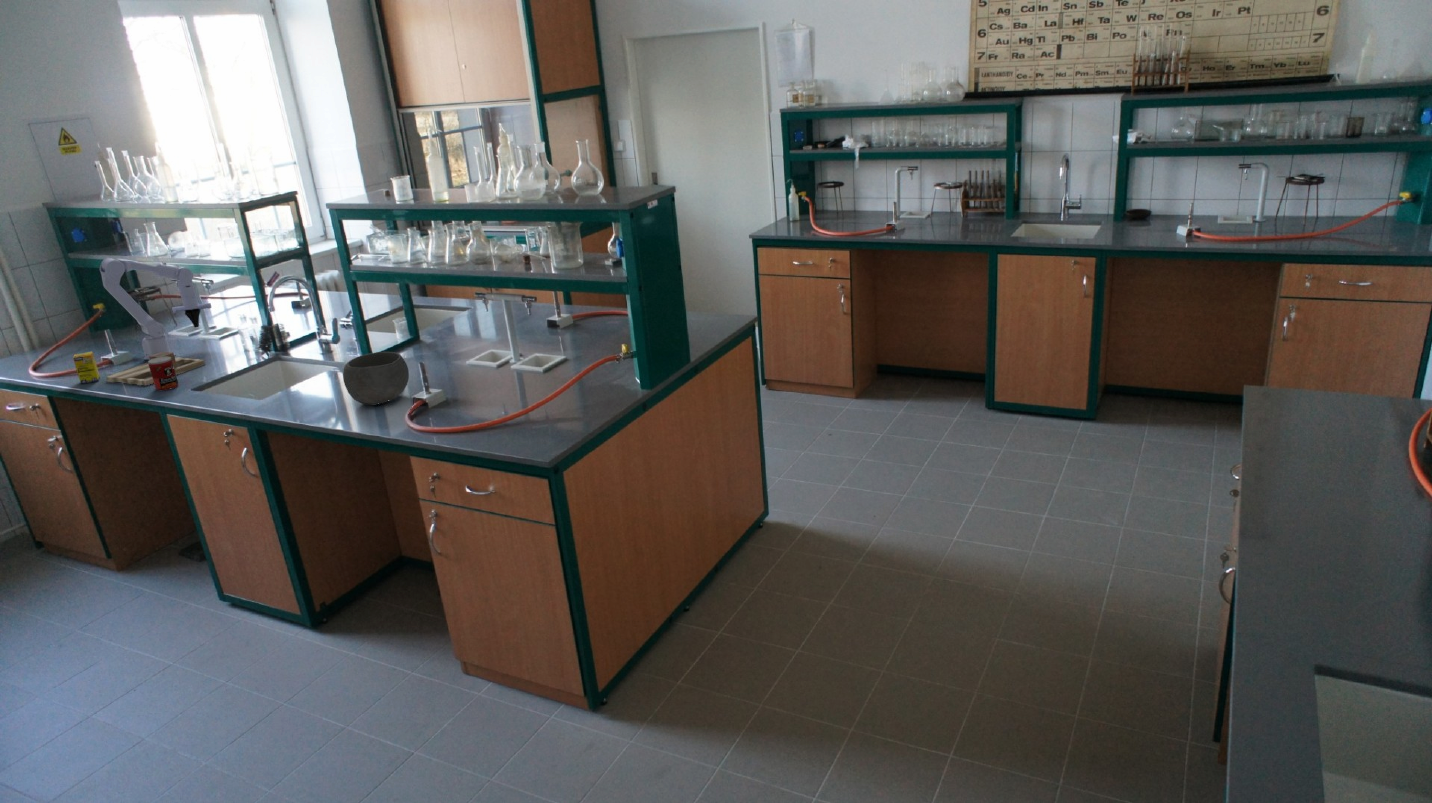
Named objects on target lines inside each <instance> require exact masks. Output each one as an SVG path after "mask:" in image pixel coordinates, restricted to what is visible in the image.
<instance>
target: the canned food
mask: <svg viewBox="0 0 1432 803" xmlns="http://www.w3.org/2000/svg"><path fill="white" fill-rule="evenodd" d="M147 363H148V364H149V368H150V371H151V375H152V378H153V381H154V384H153V385H154V388H155V389H156V390H157V391H160V390H162V391H166V390H165V389H169V390H171V389H170V388H173V389H176V388H177V387H178V386H179V381H178V379H177V375H176V373H175V369H174V366H173V362H172V359H171V357H168V356H164V357H157V358H154V359H151V360H148V361H147Z"/></svg>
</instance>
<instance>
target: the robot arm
mask: <svg viewBox="0 0 1432 803" xmlns="http://www.w3.org/2000/svg"><path fill="white" fill-rule="evenodd" d="M133 270H135V271H141V272H147V273H154V275H155V277H157V278H164V279H168V280H169V279H170V280H176V283H177V288H178V291H179V295H180V297H181V302H182V305H180V306H179V305H178V306H174V307H173V306H172V308H171V310H172V314H174V313H179V312H184V315H185V316H186V317H187V318H188V319H189V320H190V322H191V323H192V325H193V327H194V328H199V326H200V323H199V321H200V314H201V310H204V309H209V310H210V309H211V308H212V304H211V302H206V303H205V302H204V303H199V301H198V296H197V293H196V288H195V285H194V283H193V278H194V273H192V270H190V269H189V268H188V267H183V266H181V265H178V264H175V265H172V264H168V263H167V262H165V261H162V262H158V263H156V264H151V263H145V262H141V261H135V260H133V259H125V258H116V259H115V258H114V257H113V258H112V257H105V258H104V259H103V260H102V261H101V263H100V266H99V272H100V275H101V281H102V286H103V288H104V289H105V290H106V291H107V292H108V293H109V294H110V295H111V296H112V297H113V299H115V300H116V301H117V302H118V303H119V304H120V305H121V306H122V308H124V309H125V310H126V312H128V313H129V315H131V316H132V317H133V318H134V319H135V320H136V322H137V323H138V324H139V325H140V328H141V331H142V332H143V333H144V334H145V336H144V338H143V339H142V341H141V346H142V349H143V353H144V356H145V357H143V360H148V361H149V360H150V358H149V356H152V355H155V354H158V353H161V352H171V350H170V347H169V343H168V340H167V336H166V334H165V332H166V328H165V326H164V325H163V324H162V323H161V322H157V321H156V320H155V319H154V318H153V317H151V315H149V314H148V313H147V311H145V310H144V309H143V308H142V306H140V305H139V303H137V301H136V300H134V299H133V297H132V296H131V295H130V294H129V293H128V292H127V291H126V290H125V289H124V288H123V287H122V286H121V285H120V282H121V278H122V277H123V275H124V273H125V272H126V273H128V272H131V271H133ZM174 356H175V357H176V353H174Z"/></svg>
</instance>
